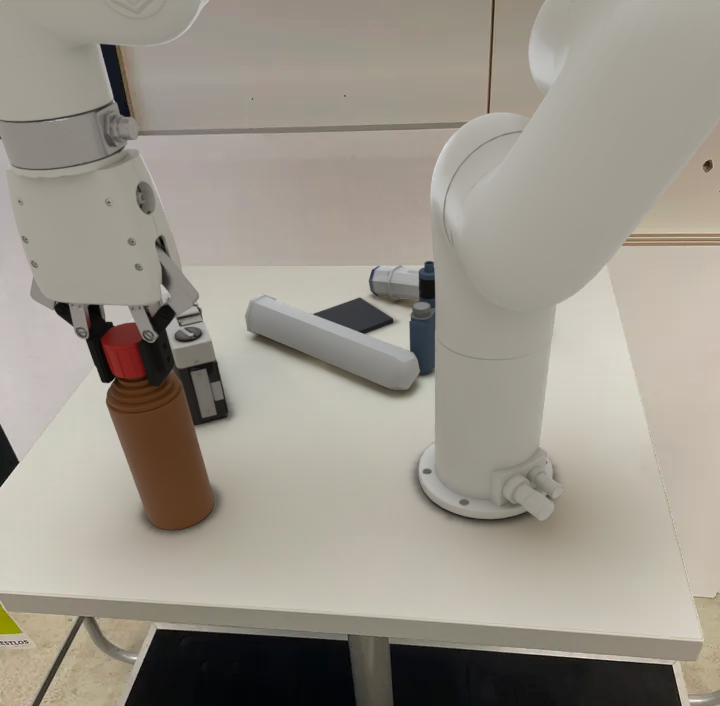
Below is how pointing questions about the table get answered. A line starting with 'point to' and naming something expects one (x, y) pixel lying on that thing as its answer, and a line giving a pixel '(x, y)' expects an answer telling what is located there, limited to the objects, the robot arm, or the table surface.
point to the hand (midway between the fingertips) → (137, 373)
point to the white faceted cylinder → (395, 282)
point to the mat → (356, 316)
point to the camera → (196, 365)
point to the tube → (333, 343)
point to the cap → (123, 350)
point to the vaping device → (424, 320)
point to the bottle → (161, 450)
